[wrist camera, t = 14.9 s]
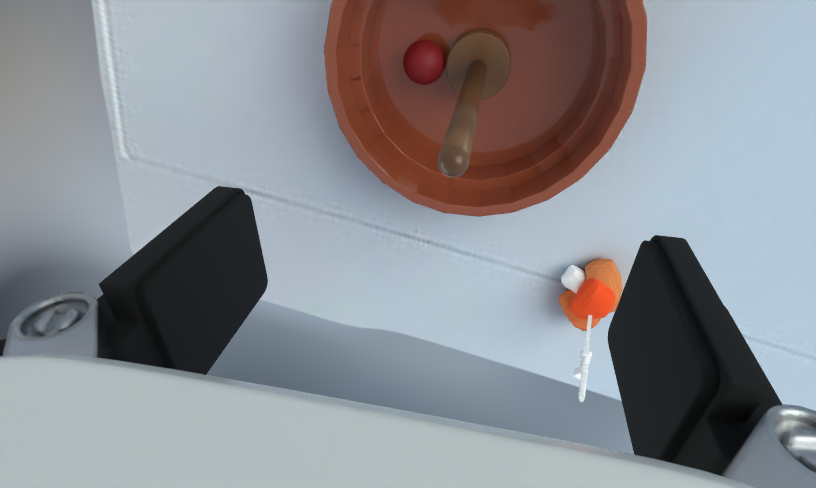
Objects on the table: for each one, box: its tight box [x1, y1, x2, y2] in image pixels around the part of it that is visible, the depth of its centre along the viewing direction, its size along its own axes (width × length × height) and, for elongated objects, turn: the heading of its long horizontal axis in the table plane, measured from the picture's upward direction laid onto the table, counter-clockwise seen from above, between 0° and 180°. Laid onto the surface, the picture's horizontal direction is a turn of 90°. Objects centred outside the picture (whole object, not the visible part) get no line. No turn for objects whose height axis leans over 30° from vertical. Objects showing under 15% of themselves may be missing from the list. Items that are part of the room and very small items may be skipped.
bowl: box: [324, 0, 647, 216], centre depth 30 cm, size 20×20×6 cm
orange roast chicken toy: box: [559, 259, 622, 402], centre depth 37 cm, size 6×10×12 cm, turn 166°
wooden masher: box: [438, 28, 511, 177], centre depth 24 cm, size 4×4×19 cm
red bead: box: [403, 39, 445, 85], centre depth 32 cm, size 3×3×3 cm
